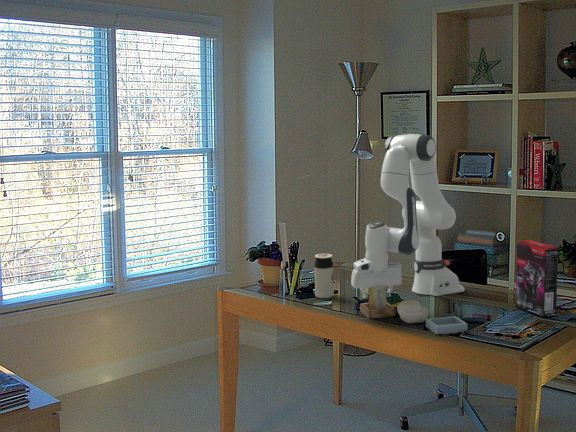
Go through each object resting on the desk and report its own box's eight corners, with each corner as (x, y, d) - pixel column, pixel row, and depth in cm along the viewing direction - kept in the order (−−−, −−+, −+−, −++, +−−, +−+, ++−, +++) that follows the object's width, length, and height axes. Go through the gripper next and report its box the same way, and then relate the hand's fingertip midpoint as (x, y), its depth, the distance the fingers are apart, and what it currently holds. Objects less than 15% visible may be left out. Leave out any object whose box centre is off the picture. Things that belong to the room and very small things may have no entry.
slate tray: (455, 323, 296) (455, 316, 296) (467, 331, 287) (467, 323, 286) (425, 326, 294) (425, 319, 293) (436, 335, 284) (436, 327, 284)
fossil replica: (434, 322, 300) (414, 318, 308) (434, 300, 299) (414, 297, 307) (412, 326, 292) (393, 322, 300) (412, 304, 292) (392, 301, 300)
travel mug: (312, 297, 338) (311, 256, 334) (320, 292, 345) (319, 252, 341) (329, 299, 334) (328, 258, 331) (336, 294, 341) (335, 254, 338)
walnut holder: (385, 308, 319) (385, 301, 318) (395, 315, 308) (395, 308, 308) (360, 310, 316) (359, 303, 316) (369, 318, 306) (368, 311, 305)
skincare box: (378, 310, 316) (378, 281, 314) (387, 312, 313) (386, 282, 311) (368, 314, 312) (367, 284, 310) (376, 316, 309) (376, 286, 306)
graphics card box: (513, 307, 314) (515, 240, 310) (527, 305, 317) (529, 238, 312) (543, 319, 299) (545, 248, 294) (557, 316, 301) (559, 246, 297)
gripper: (398, 259, 314) (398, 293, 316) (349, 263, 310) (349, 297, 312) (404, 262, 308) (404, 297, 310) (354, 266, 304) (354, 301, 306)
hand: (376, 297), depth 311 cm, fingers open, 8 cm apart
